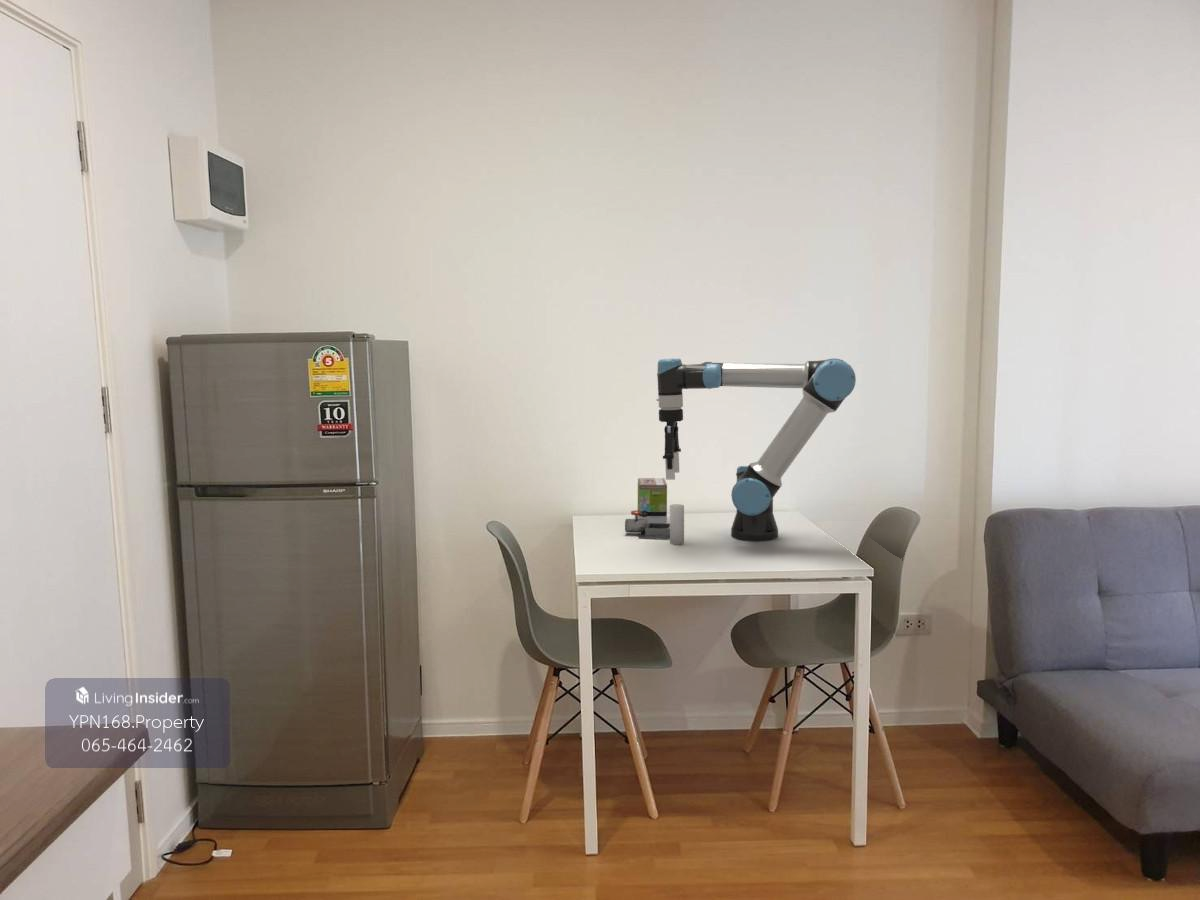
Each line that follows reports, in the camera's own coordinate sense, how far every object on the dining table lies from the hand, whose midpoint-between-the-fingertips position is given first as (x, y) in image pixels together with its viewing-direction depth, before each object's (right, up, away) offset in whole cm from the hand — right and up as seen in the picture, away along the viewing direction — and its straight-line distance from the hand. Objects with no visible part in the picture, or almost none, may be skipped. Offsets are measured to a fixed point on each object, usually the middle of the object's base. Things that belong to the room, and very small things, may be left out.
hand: (672, 476), depth 269 cm
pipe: (+2, -21, +3) cm, 22 cm away
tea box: (-4, -17, +34) cm, 39 cm away
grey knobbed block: (-6, -20, +14) cm, 25 cm away
